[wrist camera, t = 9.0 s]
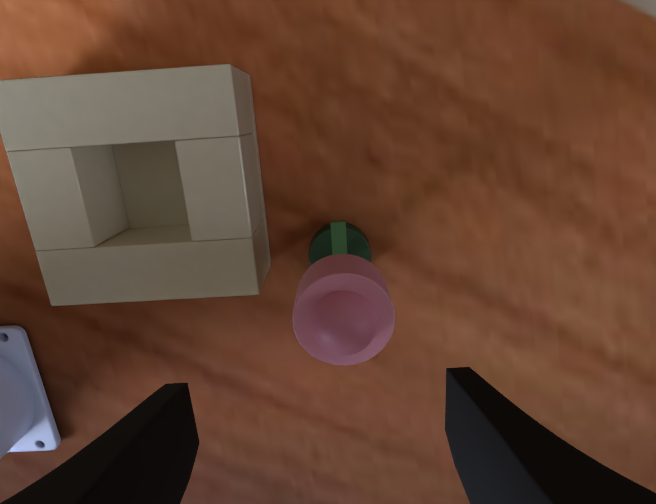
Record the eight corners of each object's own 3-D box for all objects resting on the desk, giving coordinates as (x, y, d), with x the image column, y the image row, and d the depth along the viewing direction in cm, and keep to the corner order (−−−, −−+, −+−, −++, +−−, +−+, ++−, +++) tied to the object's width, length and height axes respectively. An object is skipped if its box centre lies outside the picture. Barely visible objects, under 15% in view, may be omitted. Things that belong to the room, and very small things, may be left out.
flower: (308, 283, 21) (294, 388, 13) (302, 203, 20) (280, 264, 12) (374, 280, 21) (401, 383, 13) (371, 199, 20) (400, 257, 12)
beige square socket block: (98, 274, 21) (50, 306, 18) (51, 87, 19) (-16, 80, 15) (271, 264, 21) (259, 295, 18) (250, 74, 18) (230, 63, 15)
